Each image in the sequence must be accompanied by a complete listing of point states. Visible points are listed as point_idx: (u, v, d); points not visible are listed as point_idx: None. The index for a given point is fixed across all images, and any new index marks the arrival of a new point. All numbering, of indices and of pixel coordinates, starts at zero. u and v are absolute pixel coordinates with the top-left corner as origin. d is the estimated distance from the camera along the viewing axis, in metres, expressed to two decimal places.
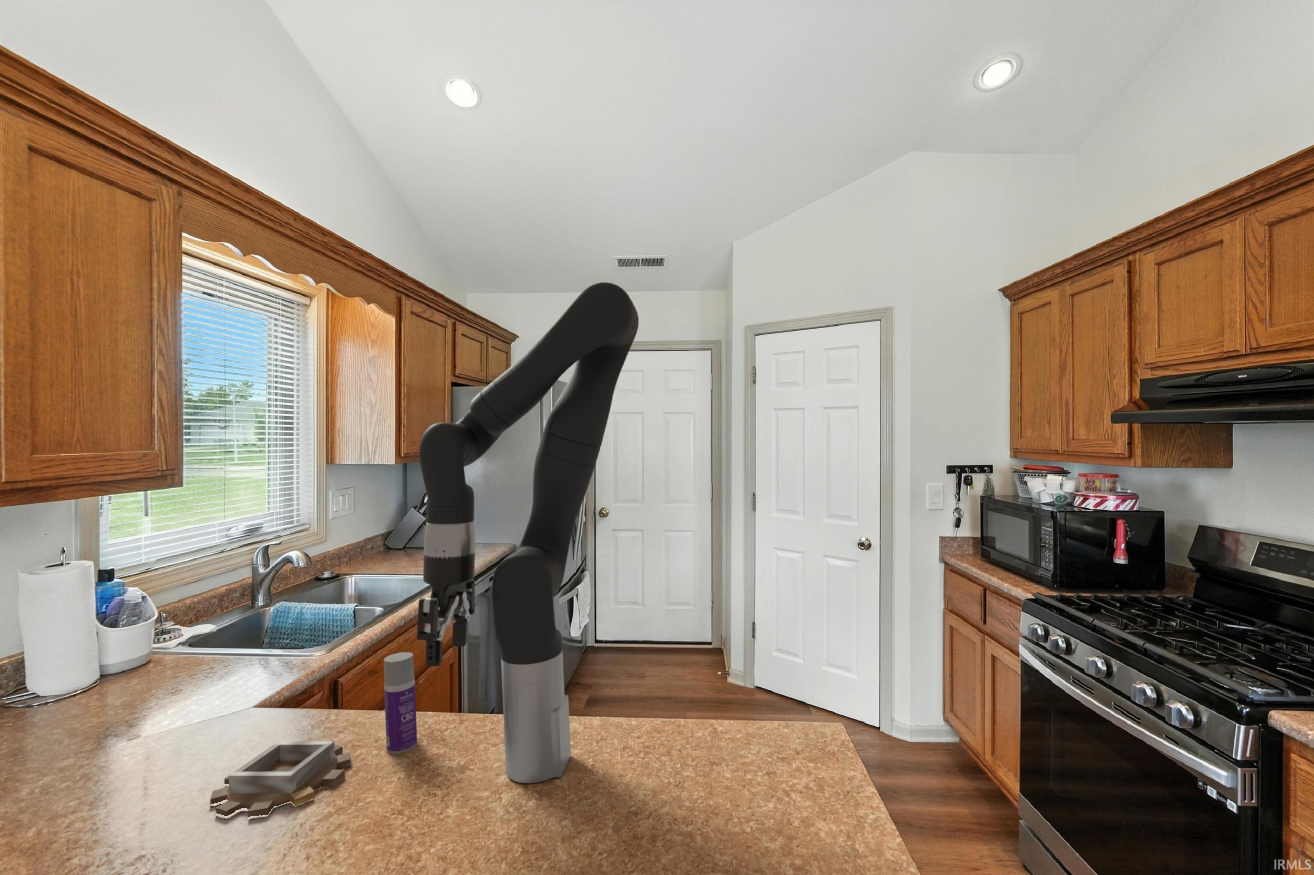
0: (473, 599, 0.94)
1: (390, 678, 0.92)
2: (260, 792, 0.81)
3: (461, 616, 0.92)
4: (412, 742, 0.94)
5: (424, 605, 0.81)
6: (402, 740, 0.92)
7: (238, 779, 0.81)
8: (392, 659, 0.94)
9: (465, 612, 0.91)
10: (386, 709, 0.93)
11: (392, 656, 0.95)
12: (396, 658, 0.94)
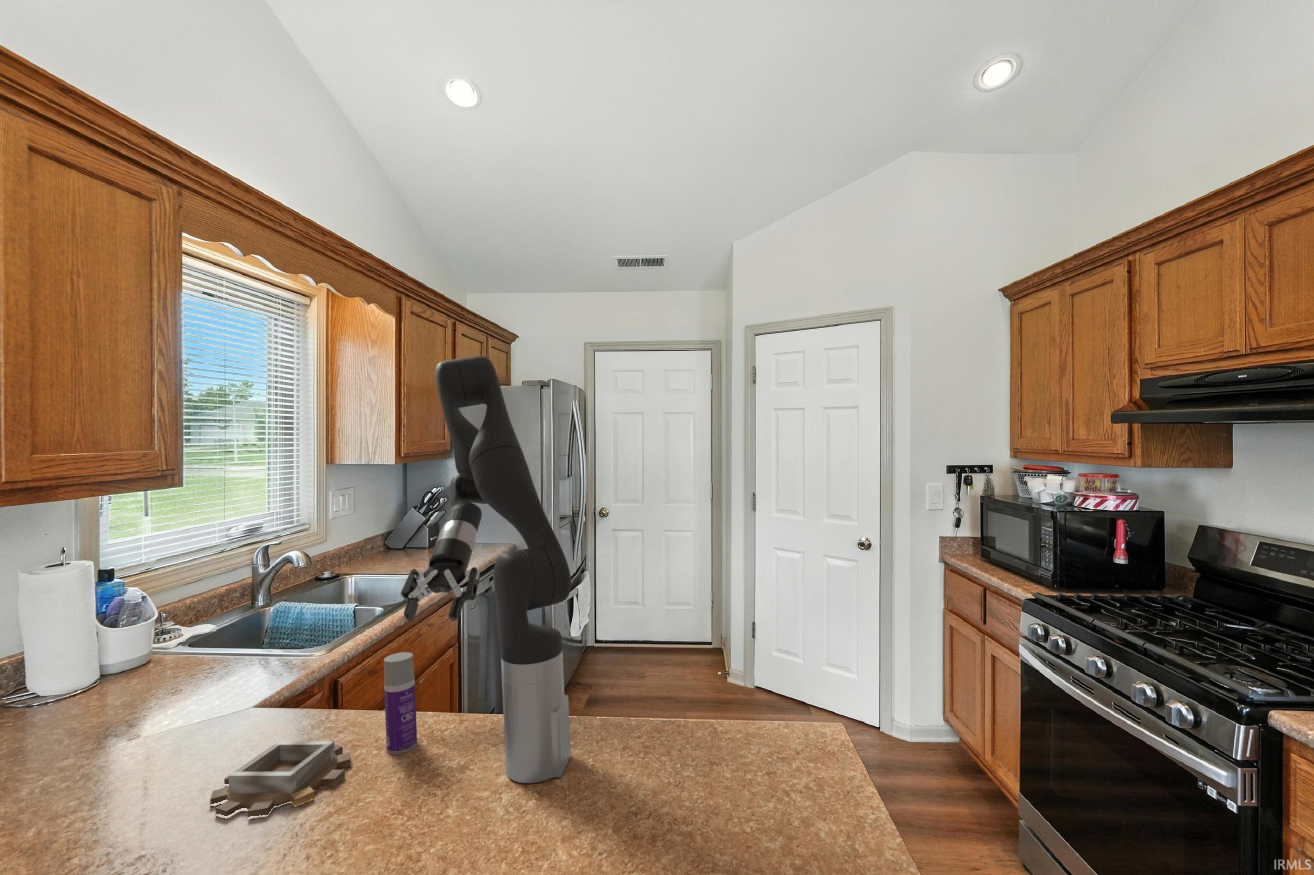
0: (471, 582, 1.10)
1: (390, 678, 0.92)
2: (260, 792, 0.81)
3: None
4: (412, 742, 0.94)
5: None
6: (402, 740, 0.92)
7: (238, 779, 0.81)
8: (392, 659, 0.94)
9: (451, 587, 1.09)
10: (386, 709, 0.93)
11: (392, 656, 0.95)
12: (396, 658, 0.94)
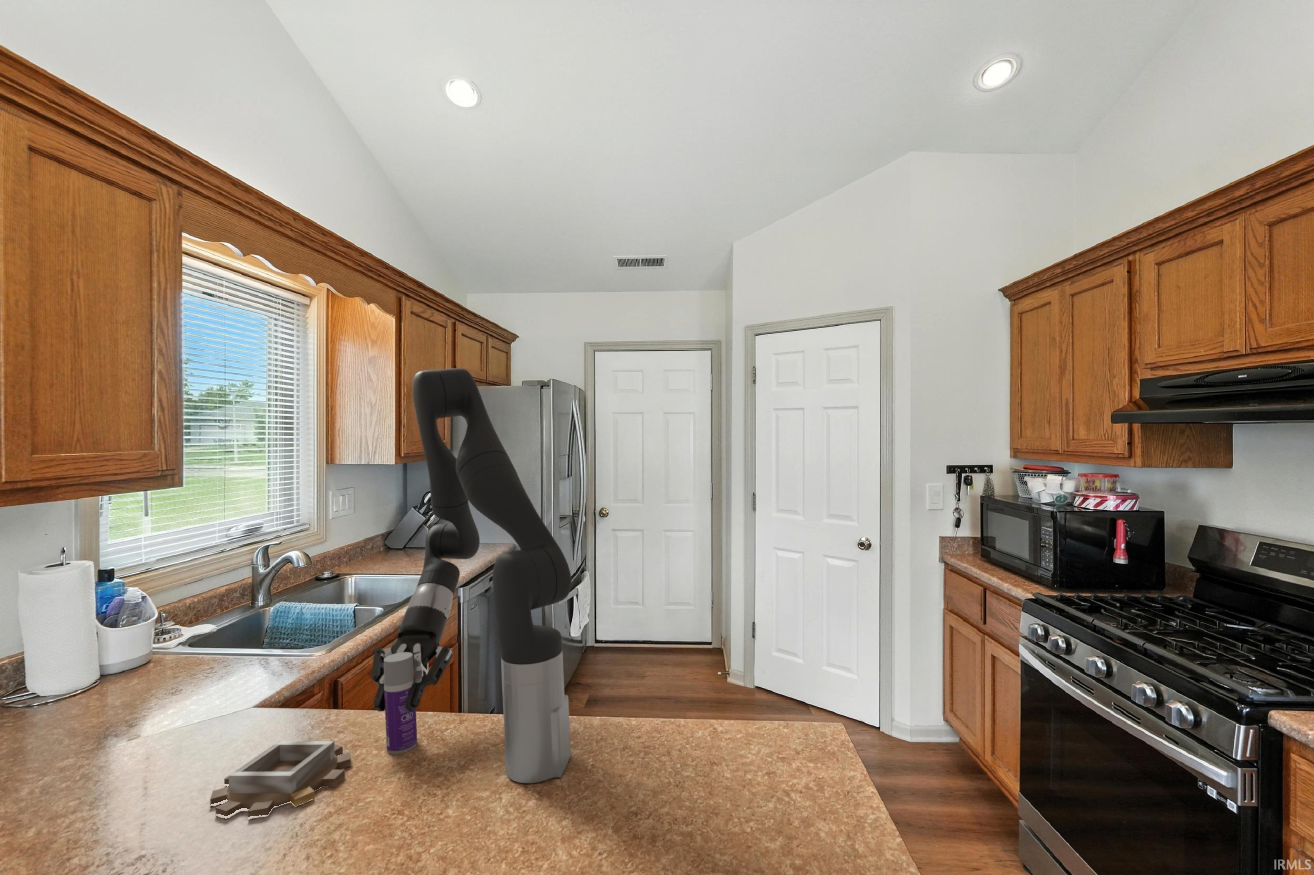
0: (436, 664, 0.96)
1: (390, 678, 0.92)
2: (260, 792, 0.81)
3: None
4: (412, 742, 0.94)
5: None
6: (402, 740, 0.92)
7: (238, 779, 0.81)
8: (392, 659, 0.94)
9: (414, 667, 0.96)
10: (386, 709, 0.93)
11: (392, 656, 0.95)
12: (396, 658, 0.94)
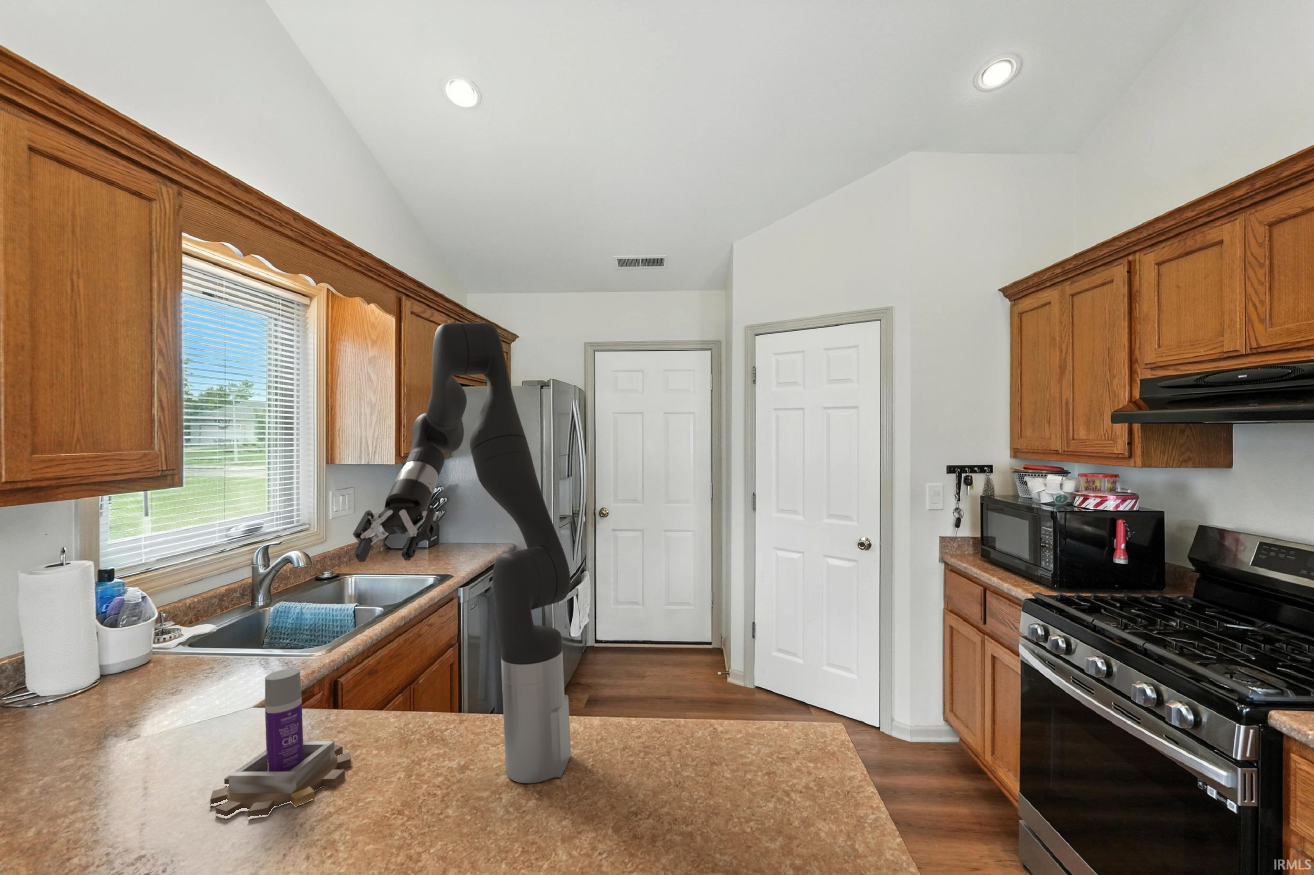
0: (427, 522, 1.04)
1: (270, 698, 0.84)
2: (260, 792, 0.81)
3: None
4: None
5: None
6: (283, 766, 0.84)
7: (238, 779, 0.81)
8: (274, 677, 0.85)
9: (406, 526, 1.03)
10: (266, 732, 0.84)
11: (276, 673, 0.87)
12: (280, 675, 0.86)
